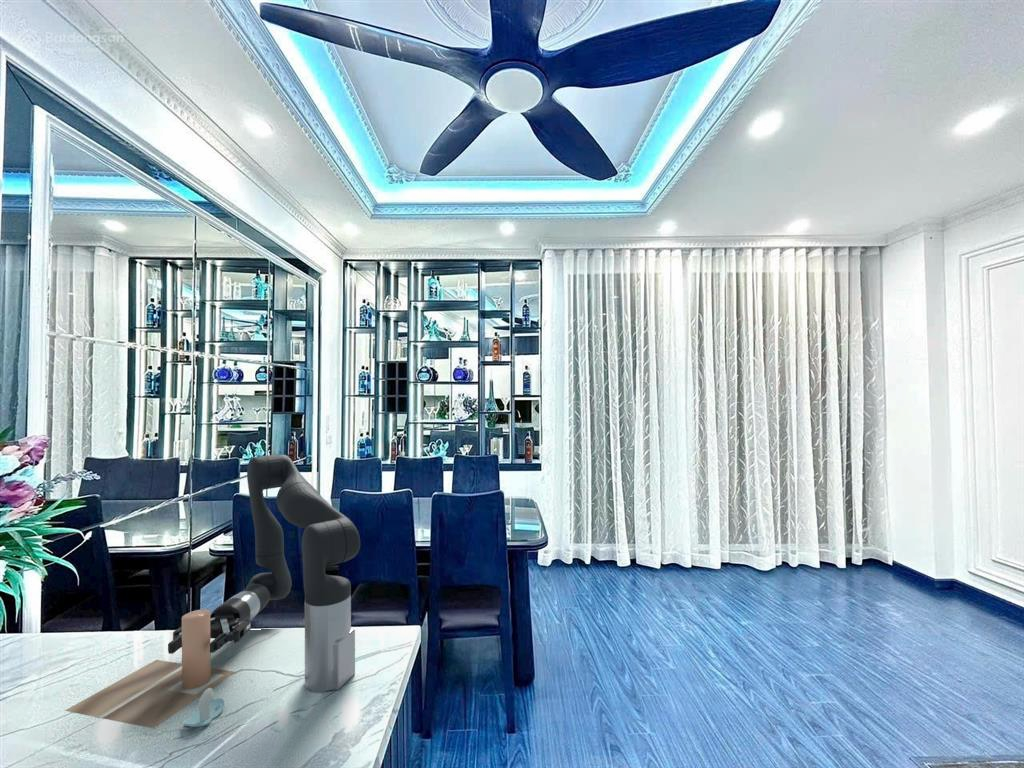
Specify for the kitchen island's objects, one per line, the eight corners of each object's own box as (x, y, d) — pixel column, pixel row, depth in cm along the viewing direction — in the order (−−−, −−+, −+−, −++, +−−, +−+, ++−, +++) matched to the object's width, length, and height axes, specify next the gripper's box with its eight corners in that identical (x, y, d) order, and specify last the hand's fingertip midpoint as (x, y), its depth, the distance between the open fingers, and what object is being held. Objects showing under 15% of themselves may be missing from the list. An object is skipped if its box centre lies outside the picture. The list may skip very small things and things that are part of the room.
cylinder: (216, 676, 100) (216, 610, 100) (195, 690, 95) (194, 621, 95) (197, 673, 101) (197, 608, 101) (175, 687, 96) (175, 619, 96)
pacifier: (168, 737, 83) (200, 738, 82) (168, 701, 83) (199, 702, 83) (200, 710, 90) (229, 710, 90) (199, 677, 91) (228, 677, 90)
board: (235, 674, 101) (235, 671, 102) (153, 731, 84) (154, 728, 84) (156, 662, 107) (156, 659, 107) (64, 713, 89) (64, 710, 89)
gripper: (206, 597, 113) (156, 631, 96) (265, 596, 113) (225, 629, 97) (206, 629, 112) (155, 668, 96) (265, 628, 112) (225, 666, 96)
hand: (190, 648), depth 96 cm, fingers open, 8 cm apart
